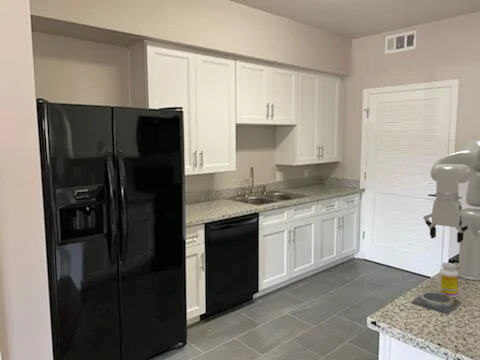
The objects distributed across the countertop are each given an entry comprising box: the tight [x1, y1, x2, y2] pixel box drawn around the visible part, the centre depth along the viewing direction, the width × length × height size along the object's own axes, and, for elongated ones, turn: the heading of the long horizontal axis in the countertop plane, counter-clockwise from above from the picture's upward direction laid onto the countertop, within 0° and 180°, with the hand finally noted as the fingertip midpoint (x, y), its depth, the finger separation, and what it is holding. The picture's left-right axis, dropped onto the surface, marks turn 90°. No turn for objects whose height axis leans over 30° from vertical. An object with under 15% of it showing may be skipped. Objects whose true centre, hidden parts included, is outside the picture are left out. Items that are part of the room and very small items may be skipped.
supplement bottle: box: [438, 262, 459, 299], centre depth 149 cm, size 7×7×13 cm
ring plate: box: [411, 291, 462, 315], centre depth 141 cm, size 13×13×2 cm
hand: (446, 239), depth 145 cm, fingers open, 9 cm apart
